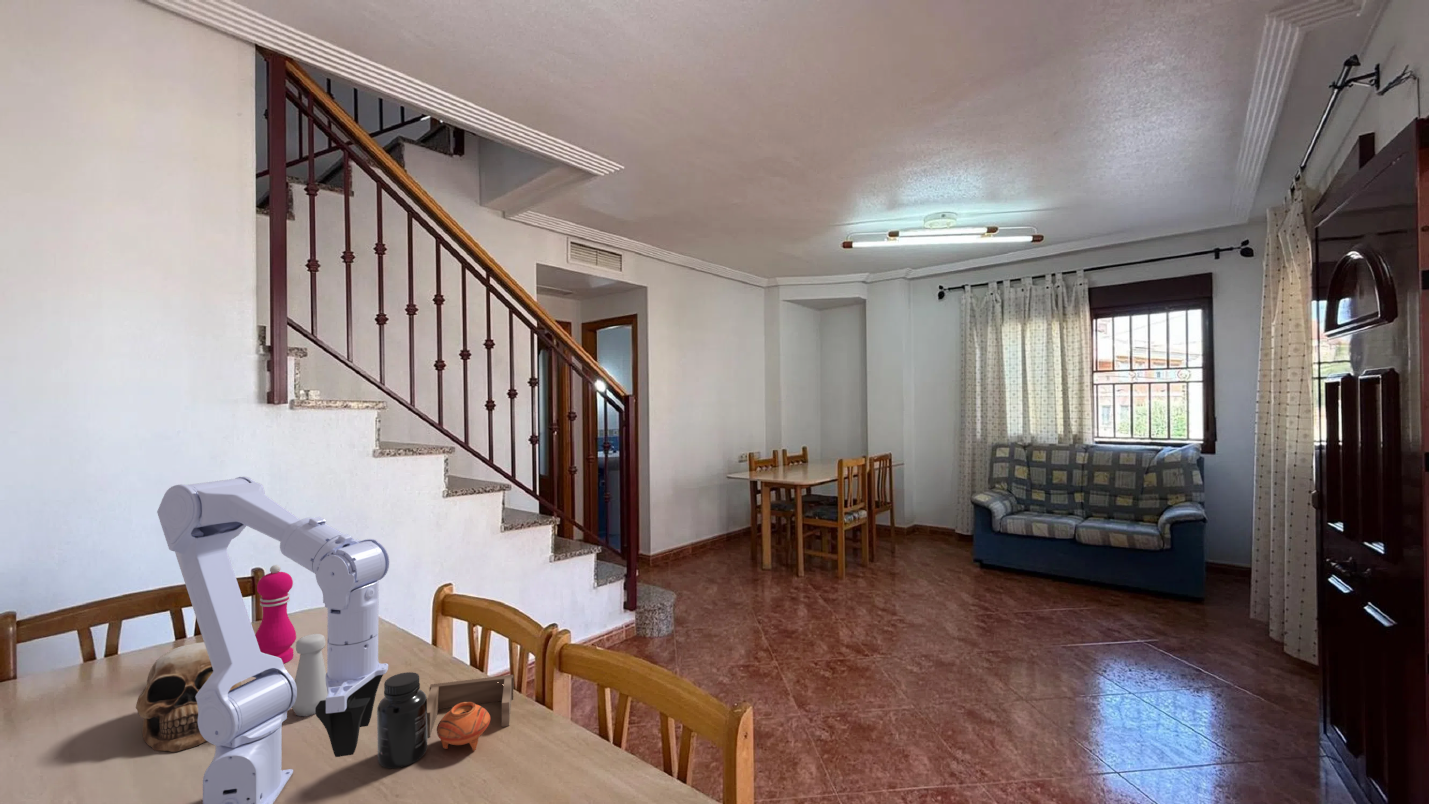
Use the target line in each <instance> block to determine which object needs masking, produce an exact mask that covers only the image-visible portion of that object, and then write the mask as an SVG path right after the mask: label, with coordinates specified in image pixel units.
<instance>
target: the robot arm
mask: <svg viewBox="0 0 1429 804" xmlns="http://www.w3.org/2000/svg"><path fill="white" fill-rule="evenodd" d="M265 492H266V491H265V489H264V485H263V484H262V483H260V482H256V480H254V479H252V478H251V477H249V476H239V477H235V478H231V479H222V480H215V481H213V480H212V481H205V482H199V483H190V484H176V485H173V486H170V487H169V488H168V489H167V490H166V491H165V493H164V495H163V497H162V499H161V501H160V504H159V506H158V509H157V511H156V514H157V516H158V520H159V523H160V525H161V529H162V531H163V535H164V537H165V541H166V544H167V546H168V547H167V548H168V549H169V551H172V552H174V553H175V557H176V559H177V562H178V566H179V569H180V572H181V574H182V575H181V576H182V578H183V581H184V584H185V587H186V590H187V594H188V597H189V599H190V602H191V605H192V610H193V612H194V615H195V618H196V621H197V625H198V627H199V631H200V635H201V637H202V639H203V642H204V643H205V646H206V649H207V653H208V656H209V659H210V662H211V665H212V668H213V673H212V674H211V676H210V677H209V678H208V680H207V681H206V682H205V684H204V685H203V686H202V687H201V689H200V690H199V691H198V693H197V694H196V696H195V697H196V700H197V705H198V728H199V731H200V733H201V735H202V736H203V738H204V739H205V740H206V742H207V743H210V744H211V745H214V746H215V751H214V756H213V758H212V760H211V762H210V763H209V765H208V767H207V768H206V770H205V772H204V774H203V777H202V779H203V780H202V804H274V803H275V801H276V800H277V798H278V796H279V795H280V794H281V792H282V790H283V789H284V787H285V786H286V784H287V783H288V781H289V779H290V778H291V777H292V775H293V773H294V769H293V768H289V769H282V763H283V762H282V761H283V759H282V756H283V755H282V754H283V753H282V749H283V748H282V745H283V744H282V740H283V739H282V732H283V731H282V726H283V725H282V724H283V722H284V721H286V720H287V719H288V717H287V716H288V711H290V710H291V709H293V708H292V706H293V705H294V703H295V701H296V697H297V687H296V683H295V678H293V676H292V675H291V674H290V673H289V672H288V670H287V669H286V667H285V664H283V662H282V659H281V658H279V657H276V656H272V655H268V654H265V653H262V652H260V649H259V646H258V643H257V640H256V637H255V634H256V633H255V630H254V627H253V626H252V622H251V619H250V615H249V614H248V613H249V612H248V609H247V607H246V604H245V601H244V598H243V595H242V593H241V592H242V591H241V589H240V586H239V583H238V580H237V576H236V574H235V571H234V567H233V565H232V562H231V559H230V556H229V553H228V547H229V545H230V543H231V541H232V540H233V539H235V538H236V537H238V536H240V535H241V534H242V532H243V531H244V529H245V528H246V527H249V528H251V529H252V530H255V531H257V532H259V533H261V534H263V535H265V536H268V537H269V538H271V539H274V540H276V541H278V542H280V543H279V551H280V552H281V554H282V555H283V556H285V557H286V558H288V559H289V560H292V561H293V562H295V563H296V564H298V565H300V566H301V567H303V568H305V569H307V570H308V571H310V572H311V573H313V574H314V575H315V581H316V583H317V585H318V587H319V588H320V590H321V592H322V603H323V604H324V607H325V608H326V609H327V635H326V636H327V639H326V640H327V642H326V643H327V644H326V645H327V646H326V649H327V655H326V657H327V662H326V664H327V668H326V669H327V670H326V676H325V682H326V687H327V693H328V695H327V697H326V700H322V701H320V702H319V703H318V705H317V706H316V708H315V713H316V714H315V717H317V719H318V720H319V721H320V722H321V724H322V725H323V726H324V728H325V730H326V733H327V735H328V739H329V742H330V746H331V749H332V752H333V755H334V757H335V758H339V757H340V758H341V757H347V756H353V755H354V754H355V752H356V749H357V745H358V741H359V736H360V735H359V734H360V728H362V727H368V726H369V725H370V722H371V718H372V714H373V710H374V707H375V706H374V705H375V701H376V697H377V692H378V689H379V686H380V683H381V681H382V678H383V676H384V675H385V674H386V673H387V672H388V670H389V664H388V663H381V662H380V661H379V594H380V592H379V590H380V589H379V585H380V584H379V582H380V581H381V580H382V579H383V578H384V577H385V576H386V575H387V574H388V571H389V568H390V557H389V553H388V551H387V549H386V548H385V547H384V546H383V544H381V543H380V542H378V540H377V539H375V538H367V539H363V540H360V539H358V538H357V539H354V538H353V536H351V535H350V534H349V533H344V532H341V531H340V530H339V529H337V528H335V527H333V526H331V525H330V524H328V523H326V522H327V519H325V518H323V517H322V516H316V517H311V516H310V517H305V518H301V519H300V517H298V516H296V515H295V514H293V513H292V512H290V511H289V510H287V508H284V507H283V506H282V505H280V504H279V503H278V502H276V501H275V500H273V499H272V498H270V497H269V496H268V495H266V493H265ZM250 678H254V679H251V680H250V681H247V682H245V683H243V684H241V686H239V687H236V688H234V689H232V690H230V688H231V687H232V686H234V685H235V684H237V683H239V682H241V683H242V682H243V681H245V680H247V679H250ZM229 690H230V691H229Z"/></svg>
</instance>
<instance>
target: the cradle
mask: <svg viewBox="0 0 1429 804" xmlns="http://www.w3.org/2000/svg"><path fill="white" fill-rule="evenodd" d="M497 682H499V683H497ZM502 684H504V686H503V685H502ZM512 700H514V674H507V675H499V676H490V677H482V678H475V679H474V678H472V679H465V680H457V681H448V682H439V683H432V684H430V685H429V693H428V695H427V738H431V734H432V731H433V728H434V725H435V722H436V719H437V716H438V712H439V710H441V709H442V710H443V709H449V708H453V707H454V706H455V705H456V704H459V703H462V702H473V703H475V704H476V705H479V704H487V703H496V702H501V727H502V728H503V727H509V726H510V721H511V719H510V718H511V709H512Z"/></svg>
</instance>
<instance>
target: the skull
mask: <svg viewBox="0 0 1429 804" xmlns="http://www.w3.org/2000/svg"><path fill="white" fill-rule="evenodd" d="M212 673H213V668H212V665H211V662H210V659H209V656H208V653H207V649H206V646H205V643H204V641H202V642H195V643H189V644H186V645H181V646H179V647H175V648H173V649H171V650H169V651H167V652H165V653H163V654H162V655H161V656H160V657H159V658H158V659H156V660H155V662H154V663H153V664H152V666H151V668H150V669H149V672H148V675H147V678H146V686H145V687H144V688H143V689H142V690H141V692H140V694H139V695H138V698H137V699H136V700H137V702H136V703H135V709H136V710H137V713H138V715H139V716H140V718H142V719H143V721H142V731H141V733H142V740H143V741H144V742H145V743H146V744H147V745H148V746H149V747H151V748H152V750H153V751H158V752H165V751H166V752H171V753H175V752H180V751H184V750H188V749H189V750H190V749H192V748H194V747H197V746H199V745H201V744H203V743H206V742H207V741H206V740H205V739H204V738H203V736H202V735H201V733H200V731H199V728H198V705H197V700H196V697H195V696H196V694H197V693H198V691H199V690H200V689H201V687H202V686H203V685H204V684H205V682H206V681H207V680H208V678H209V677H210V676H211V674H212ZM241 685H242V681H241V682H239V683H237V684H235V685H234V686H232V687H231V688H230V690H232V689H234V688H236V687H239V686H241ZM230 690H229V691H230Z"/></svg>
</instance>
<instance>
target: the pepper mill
mask: <svg viewBox="0 0 1429 804" xmlns="http://www.w3.org/2000/svg"><path fill="white" fill-rule="evenodd" d="M281 570H282V569H281V566H280V565H278V564H273V565H272V566H271V567H270V568H269V572H270V573H269V572H268V573H267V574H265V575H263V576H262V577H260V579H259V580H258V582H257V586H256V591H257V594H259V596H261V597H260V599H259V602H260V603H259V605H260V606H261V607H262V619H261V622H260V625H259V626H258V629H257V630H256V632H255V633H254V634H255V637H256V640H257V643H258V646H259V649H260V652H262V653H265V654H268V655H272V656H276V657H279V658H281V659H282V662H283V665H285V664H287V663H289V662H290V661H292V659H293V658H294V648H293V647H292V646H293V645H294V643H296V640H297V631H296V629H295V626H294V624H293V623H292V621H291V620H290V617H289V614H288V603H289V602H290V601H291V594H290V593H289V592H290V591H291V589H292V588H293V585H294V581H293V578H292V576H291V574H289V573H287V572H284V571H281Z"/></svg>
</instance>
